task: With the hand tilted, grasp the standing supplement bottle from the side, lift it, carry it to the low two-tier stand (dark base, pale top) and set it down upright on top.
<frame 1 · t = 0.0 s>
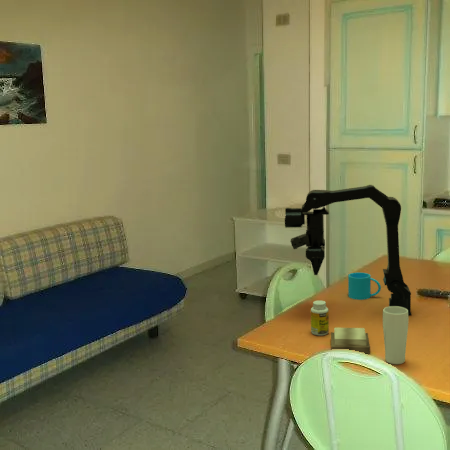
hand: (316, 271, 203), 15 cm above the table, tool pointing down, fingers open, 9 cm apart
stand: (349, 345, 175), on the table
mug: (364, 297, 219), on the table
supplement bottle: (320, 333, 186), on the table
drinking glass: (395, 361, 163), on the table
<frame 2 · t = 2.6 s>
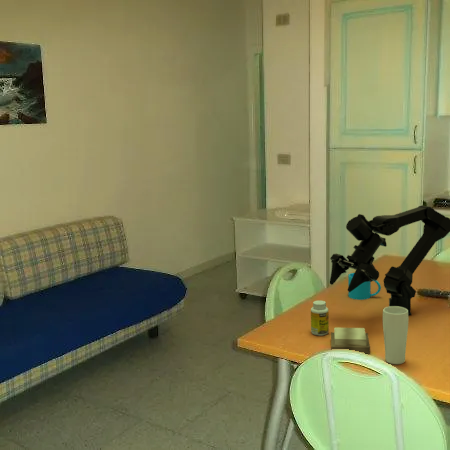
hand: (339, 287, 187), 14 cm above the table, tool tilted 45°, fingers open, 9 cm apart
nothing on the table moved.
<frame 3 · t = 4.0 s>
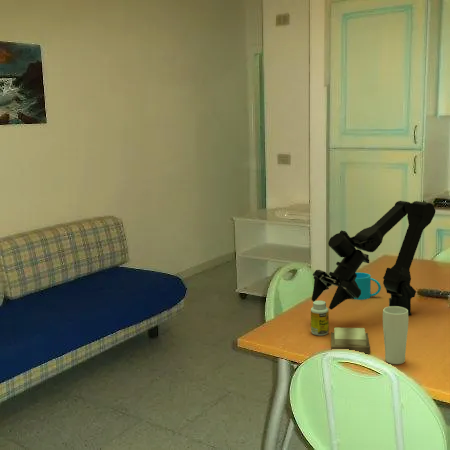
hand: (321, 304, 185), 9 cm above the table, tool tilted 45°, fingers open, 9 cm apart
nothing on the table moved.
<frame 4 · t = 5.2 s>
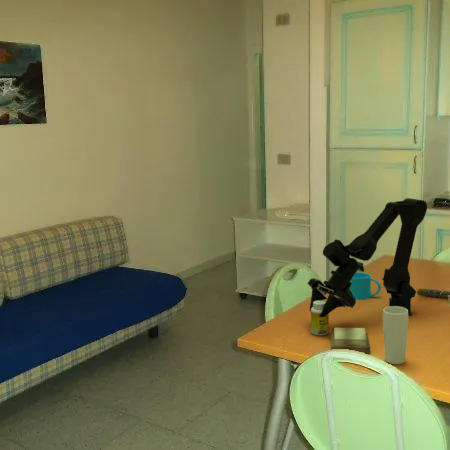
hand: (315, 314, 184), 7 cm above the table, tool tilted 45°, fingers closed on supplement bottle, 5 cm apart
supplement bottle: (319, 333, 186), on the table, touching gripper
everything else where it was.
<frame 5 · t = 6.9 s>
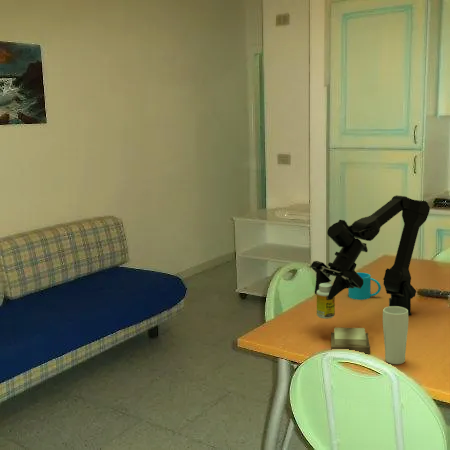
hand: (322, 296, 180), 13 cm above the table, tool tilted 45°, fingers closed on supplement bottle, 5 cm apart
supplement bottle: (325, 316, 182), point 6 cm above the table, touching gripper
everything else where it was.
when the fingers open (11 cm above the table, at t = 8.4 s): supplement bottle stays where it is, resting on stand.
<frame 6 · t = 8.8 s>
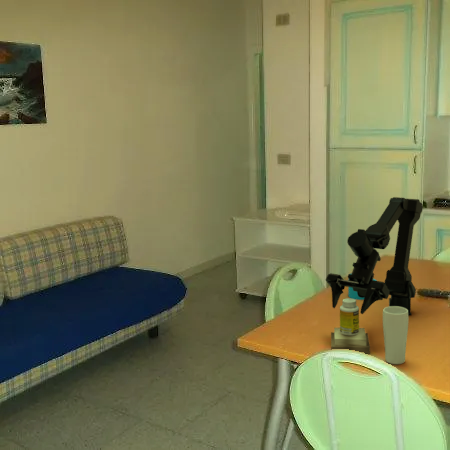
hand: (347, 310, 172), 12 cm above the table, tool tilted 45°, fingers open, 9 cm apart
supplement bottle: (349, 333, 175), point 4 cm above the table, touching stand
everything else where it was.
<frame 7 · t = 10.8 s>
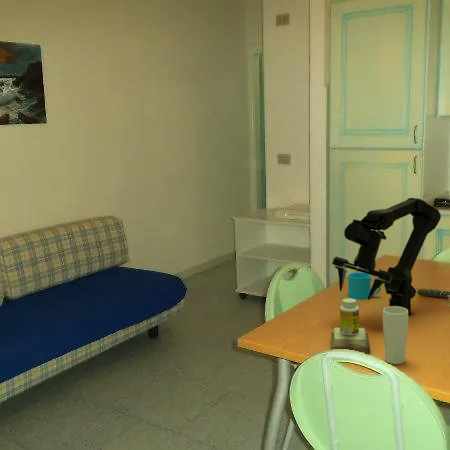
hand: (354, 295, 186), 11 cm above the table, tool tilted 25°, fingers open, 9 cm apart
nothing on the table moved.
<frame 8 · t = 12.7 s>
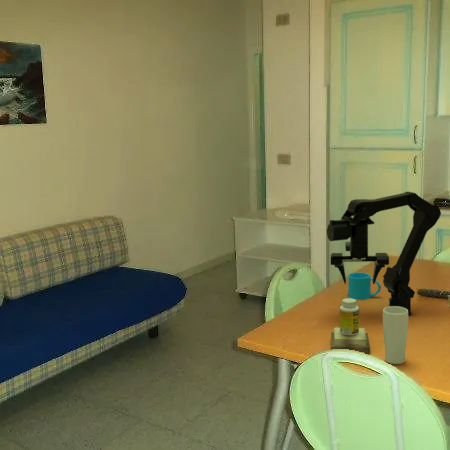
hand: (359, 283, 195), 12 cm above the table, tool pointing down, fingers open, 9 cm apart
nothing on the table moved.
at the end: supplement bottle inside the target area on the stand (0.3 cm from its centre), point 3.8 cm above the stand's base; supplement bottle tilted 0°; the gripper is holding nothing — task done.
